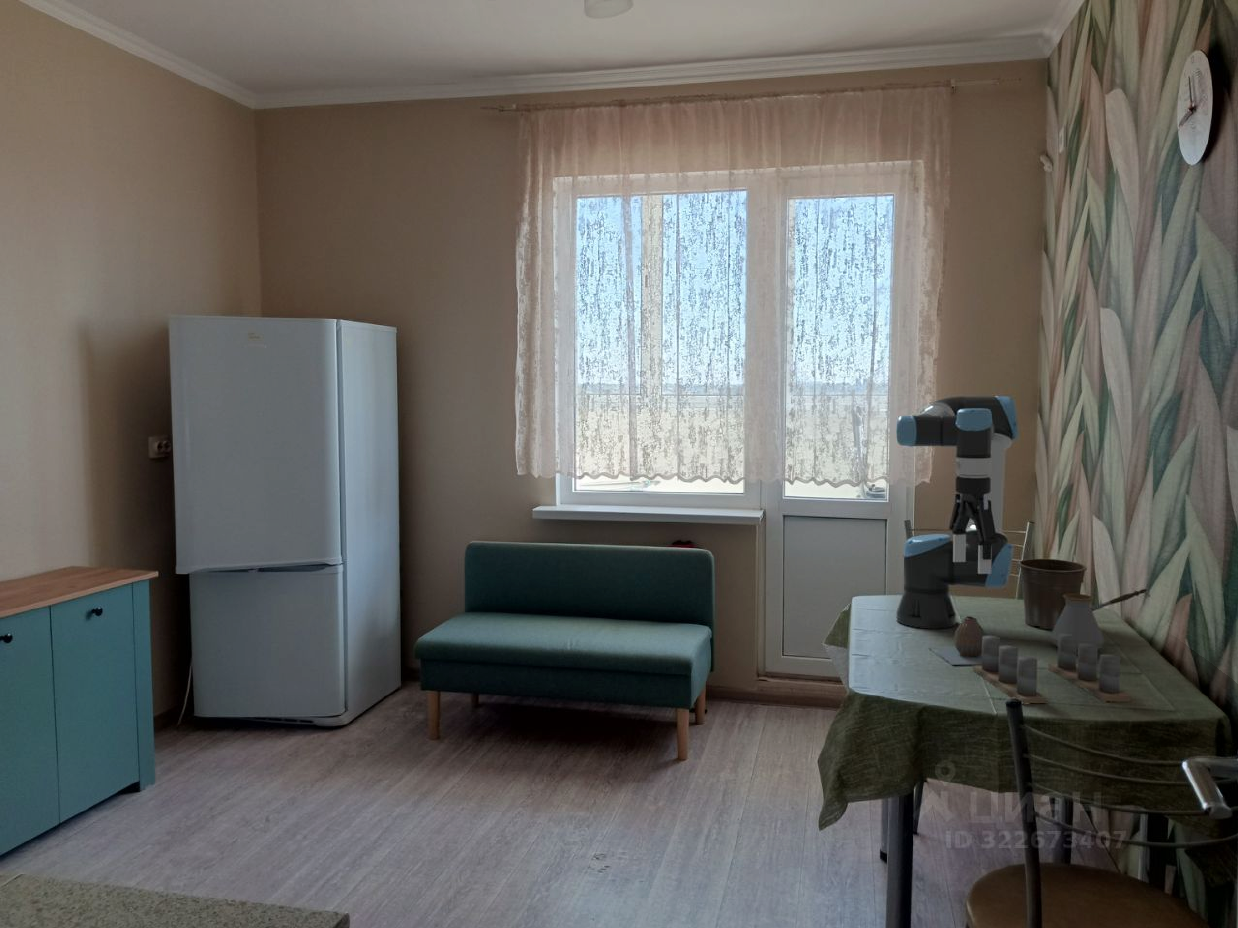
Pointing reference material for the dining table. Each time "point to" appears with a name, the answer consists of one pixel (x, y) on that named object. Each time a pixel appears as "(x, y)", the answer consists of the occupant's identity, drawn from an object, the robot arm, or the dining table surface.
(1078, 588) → the plant pot
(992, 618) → the dining table surface
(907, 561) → the robot arm
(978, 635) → the vase
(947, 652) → the mat
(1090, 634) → the coffee pot
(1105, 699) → the spacer rack
